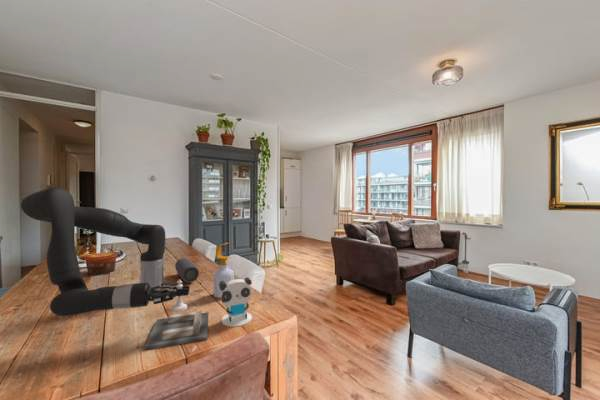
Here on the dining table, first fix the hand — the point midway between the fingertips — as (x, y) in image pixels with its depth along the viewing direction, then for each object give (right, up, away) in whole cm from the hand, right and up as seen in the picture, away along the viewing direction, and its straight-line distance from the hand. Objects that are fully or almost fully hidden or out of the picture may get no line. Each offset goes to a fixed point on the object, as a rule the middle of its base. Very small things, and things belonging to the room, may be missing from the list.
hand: (188, 290), depth 90 cm
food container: (-81, -12, +66) cm, 105 cm away
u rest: (-3, -14, 0) cm, 14 cm away
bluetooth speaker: (-25, -13, +54) cm, 61 cm away
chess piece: (-3, -6, -1) cm, 7 cm away
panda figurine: (+15, -14, +8) cm, 22 cm away
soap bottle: (+3, -13, +31) cm, 34 cm away
